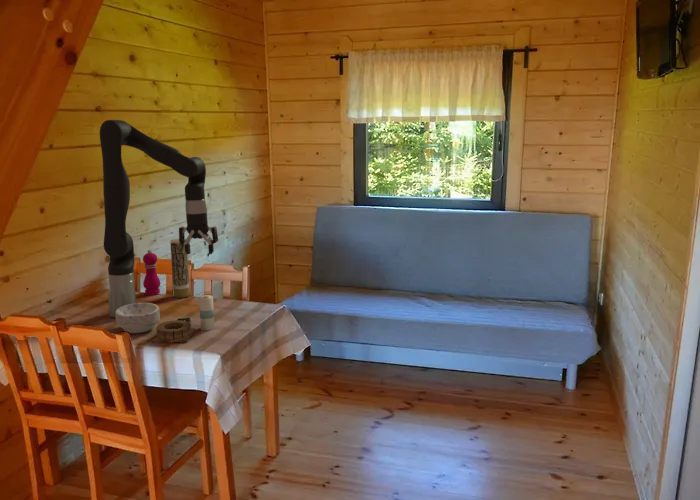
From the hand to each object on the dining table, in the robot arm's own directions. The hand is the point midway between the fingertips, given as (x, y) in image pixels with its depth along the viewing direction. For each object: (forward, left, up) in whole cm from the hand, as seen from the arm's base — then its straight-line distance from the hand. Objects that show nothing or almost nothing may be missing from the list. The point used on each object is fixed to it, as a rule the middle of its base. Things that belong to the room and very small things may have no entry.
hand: (199, 253), depth 219 cm
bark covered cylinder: (-16, +30, -26) cm, 43 cm away
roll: (+4, -10, -26) cm, 28 cm away
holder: (-6, -18, -26) cm, 32 cm away
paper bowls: (-21, -11, -26) cm, 35 cm away
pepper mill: (-30, +34, -26) cm, 53 cm away
